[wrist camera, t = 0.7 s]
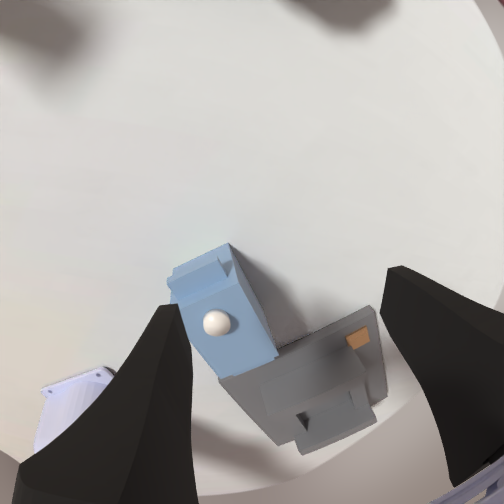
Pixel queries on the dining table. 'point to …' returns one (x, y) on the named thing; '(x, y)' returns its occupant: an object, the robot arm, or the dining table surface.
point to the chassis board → (317, 385)
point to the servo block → (222, 313)
